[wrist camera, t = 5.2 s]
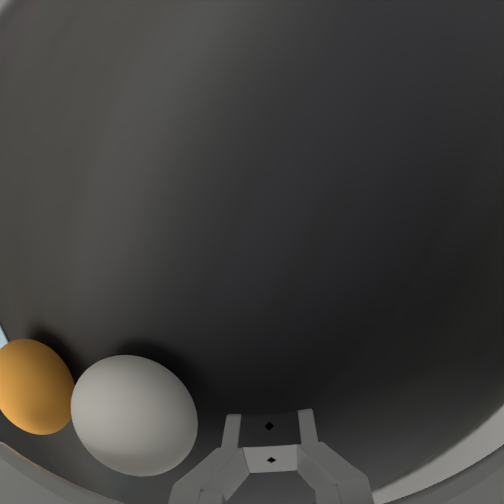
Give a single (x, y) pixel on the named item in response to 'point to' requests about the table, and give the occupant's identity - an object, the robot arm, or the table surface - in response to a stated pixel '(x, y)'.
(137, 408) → the white ball
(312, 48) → the table surface
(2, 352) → the orange ball
